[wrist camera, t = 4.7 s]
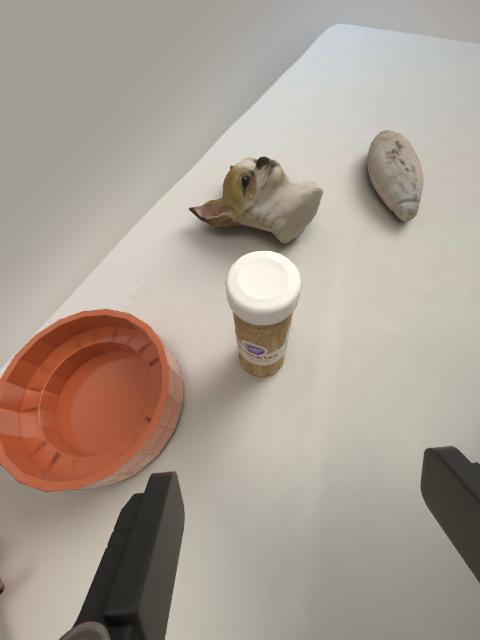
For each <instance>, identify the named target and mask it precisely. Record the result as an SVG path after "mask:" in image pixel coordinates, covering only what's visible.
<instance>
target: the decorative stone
mask: <svg viewBox="0 0 480 640" xmlns="http://www.w3.org/2000/svg"><path fill="white" fill-rule="evenodd" d="M367 165H368V173H369V177H370V180H371V182H372V185H373V187H374V188H375V190H376V192H377V193H378V195H379V196H380V198H381V199H382V200H383V202H384V203H385V204H386V205H387V206H388V208H389V209H390V210H391V211H393V212H394V213H395V215H396V216H397V217H398V218H399V219H400V220H402V221H408V220H411V219H413V218H414V217H415V216H416V214H417V211H418V207H419V203H420V199H421V194H422V189H423V173H422V169H421V165H420V162H419V160H418V157H417V155H416V153H415V151H414V149H413V148H412V146H411V144H410V143H409V141H408V140H407V139H406V138H405V137H404V136H403V135H401V134H400V133H397V132H394V131H390V130H386V131H383V132H381V133H379V134H378V135H377V136H376V137H375V139H374V140H373V142H372V143H371V146H370V148H369V152H368V163H367Z"/></svg>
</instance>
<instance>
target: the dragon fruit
mask: <svg viewBox="0 0 480 640" xmlns="http://www.w3.org/2000/svg"><path fill="white" fill-rule="evenodd" d="M3 590H4V585H3V583H2V582H1V579H0V594H1V593H2V592H3Z"/></svg>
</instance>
